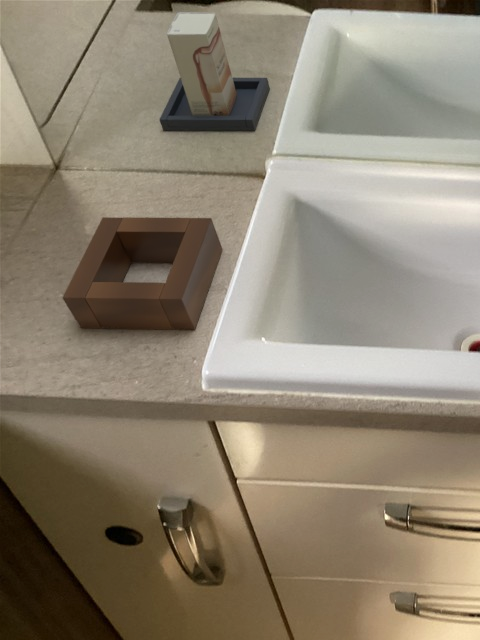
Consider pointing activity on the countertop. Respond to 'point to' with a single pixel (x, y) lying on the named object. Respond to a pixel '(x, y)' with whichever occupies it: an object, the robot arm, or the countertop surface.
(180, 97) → the tray
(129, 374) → the countertop surface
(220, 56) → the printed product carton
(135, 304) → the frame
